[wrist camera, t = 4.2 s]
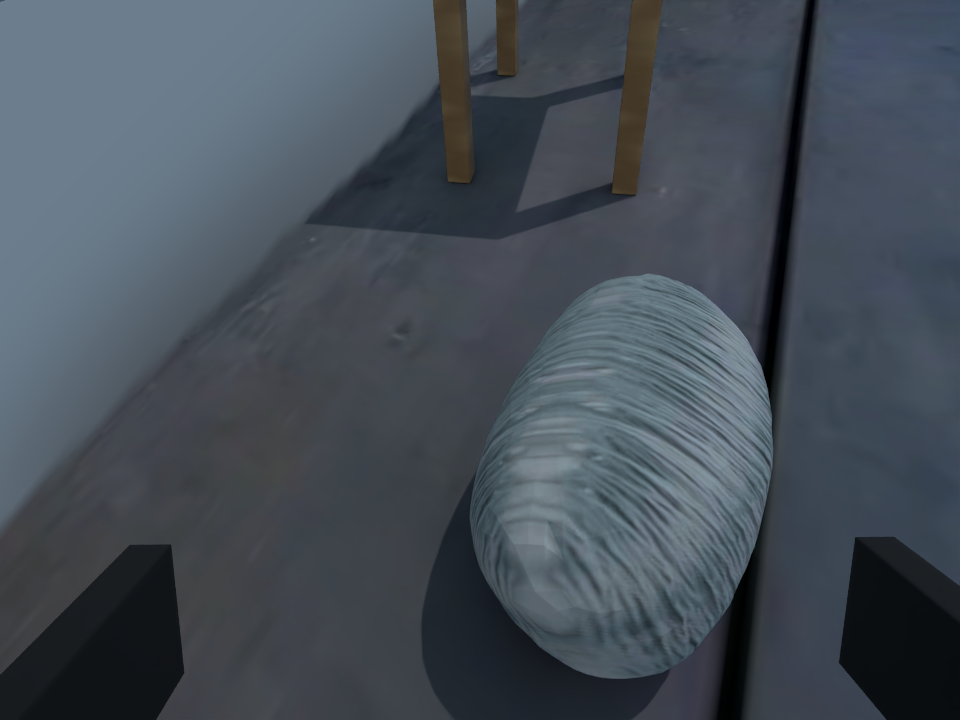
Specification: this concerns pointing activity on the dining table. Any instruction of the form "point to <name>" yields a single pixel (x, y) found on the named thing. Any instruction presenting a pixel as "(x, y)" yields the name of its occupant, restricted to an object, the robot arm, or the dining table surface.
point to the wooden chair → (457, 75)
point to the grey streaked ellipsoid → (626, 478)
